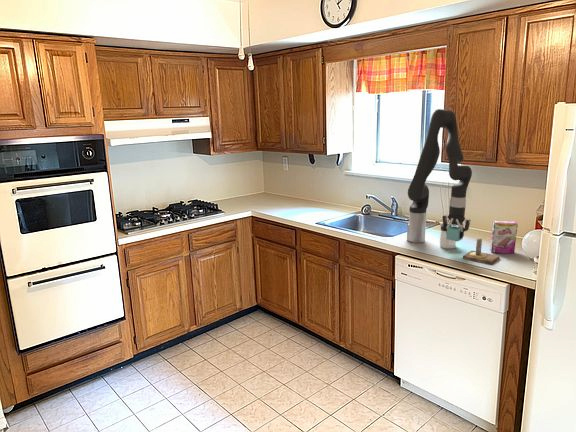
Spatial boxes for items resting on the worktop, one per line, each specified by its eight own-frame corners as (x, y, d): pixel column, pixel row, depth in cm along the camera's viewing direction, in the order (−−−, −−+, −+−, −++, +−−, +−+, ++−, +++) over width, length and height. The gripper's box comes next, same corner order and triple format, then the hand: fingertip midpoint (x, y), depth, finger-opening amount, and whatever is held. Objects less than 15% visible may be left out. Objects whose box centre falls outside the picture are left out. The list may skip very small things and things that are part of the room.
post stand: (462, 258, 221) (464, 239, 219) (471, 253, 229) (472, 234, 227) (491, 264, 212) (493, 244, 210) (499, 258, 220) (501, 239, 217)
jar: (444, 249, 236) (446, 228, 233) (436, 245, 244) (437, 224, 241) (459, 247, 239) (460, 226, 236) (449, 243, 246) (451, 222, 243)
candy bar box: (491, 253, 228) (494, 222, 225) (489, 250, 233) (492, 220, 229) (514, 254, 226) (518, 223, 222) (512, 251, 230) (515, 221, 226)
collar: (446, 239, 226) (447, 227, 224) (451, 236, 230) (452, 225, 228) (457, 241, 222) (458, 230, 220) (462, 238, 226) (463, 227, 224)
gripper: (440, 204, 223) (438, 235, 228) (468, 208, 214) (465, 241, 218) (447, 201, 229) (444, 232, 233) (474, 206, 219) (471, 238, 223)
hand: (454, 236), depth 225 cm, fingers closed on collar, 6 cm apart
